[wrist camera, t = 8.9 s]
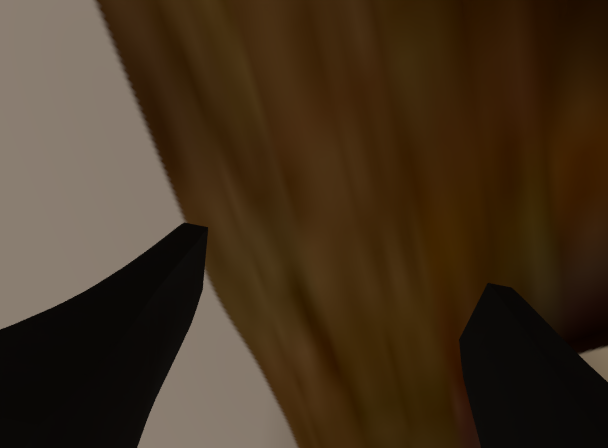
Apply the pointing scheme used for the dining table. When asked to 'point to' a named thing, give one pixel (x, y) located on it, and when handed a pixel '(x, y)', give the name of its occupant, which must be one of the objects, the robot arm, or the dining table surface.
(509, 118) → the dining table surface
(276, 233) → the dining table surface
